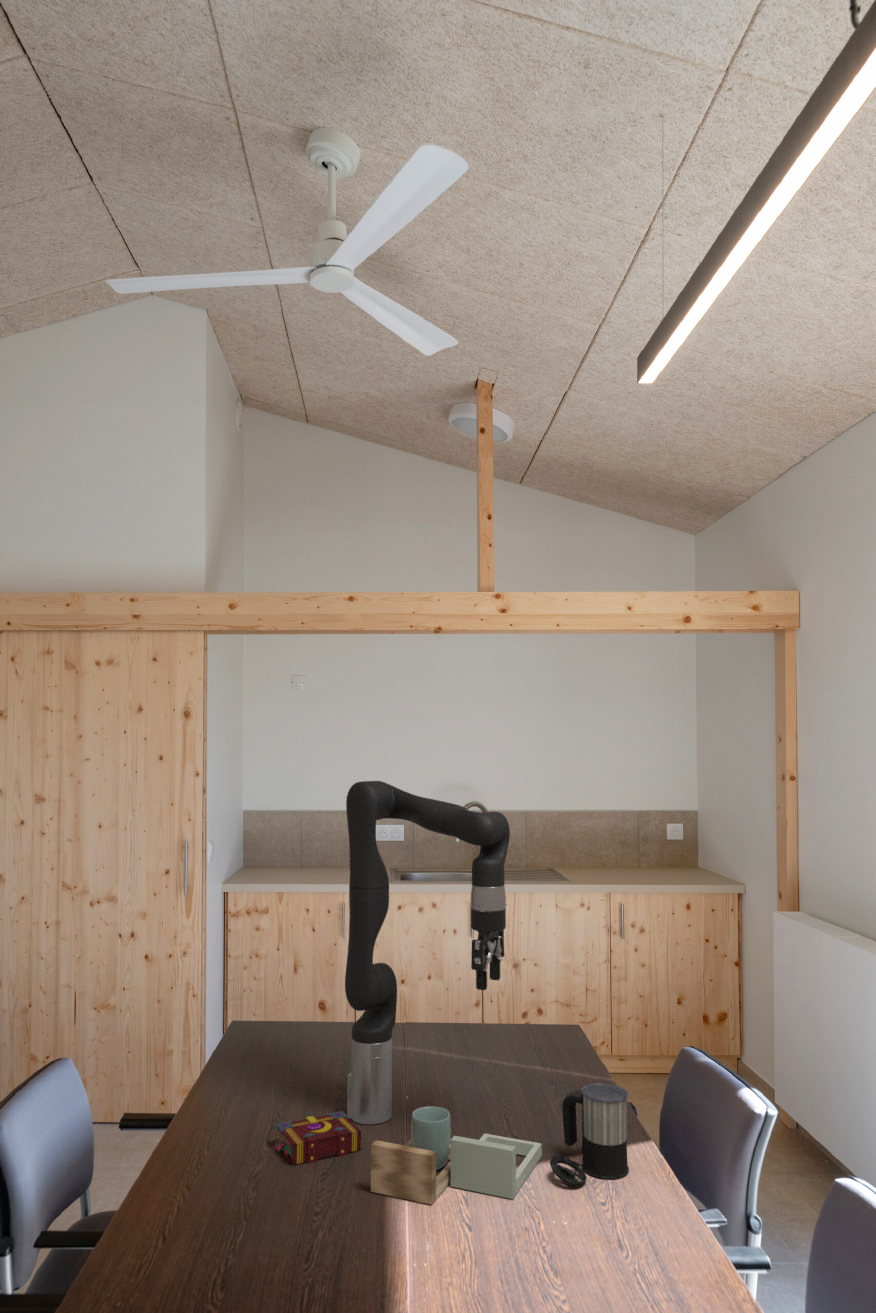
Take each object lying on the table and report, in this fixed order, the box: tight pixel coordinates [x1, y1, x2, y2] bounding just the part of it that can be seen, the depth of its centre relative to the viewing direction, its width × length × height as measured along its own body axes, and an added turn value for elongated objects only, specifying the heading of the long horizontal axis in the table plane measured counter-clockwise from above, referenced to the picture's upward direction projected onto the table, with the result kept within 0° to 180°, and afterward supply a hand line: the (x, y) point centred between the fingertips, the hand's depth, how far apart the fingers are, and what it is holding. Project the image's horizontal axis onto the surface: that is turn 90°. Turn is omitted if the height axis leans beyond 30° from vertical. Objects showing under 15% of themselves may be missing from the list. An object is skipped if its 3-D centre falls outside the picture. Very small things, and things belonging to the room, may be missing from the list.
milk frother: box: [549, 1083, 630, 1187], centre depth 175 cm, size 14×16×15 cm
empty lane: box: [449, 1133, 543, 1200], centre depth 176 cm, size 12×19×8 cm, turn 157°
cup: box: [410, 1105, 451, 1171], centre depth 178 cm, size 8×8×10 cm
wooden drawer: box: [370, 1138, 451, 1205], centre depth 173 cm, size 12×19×8 cm, turn 157°
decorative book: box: [272, 1110, 362, 1166], centre depth 185 cm, size 11×16×5 cm
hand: (488, 984), depth 189 cm, fingers open, 8 cm apart
